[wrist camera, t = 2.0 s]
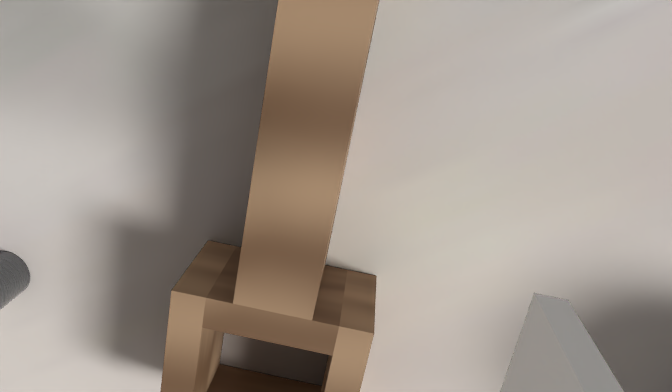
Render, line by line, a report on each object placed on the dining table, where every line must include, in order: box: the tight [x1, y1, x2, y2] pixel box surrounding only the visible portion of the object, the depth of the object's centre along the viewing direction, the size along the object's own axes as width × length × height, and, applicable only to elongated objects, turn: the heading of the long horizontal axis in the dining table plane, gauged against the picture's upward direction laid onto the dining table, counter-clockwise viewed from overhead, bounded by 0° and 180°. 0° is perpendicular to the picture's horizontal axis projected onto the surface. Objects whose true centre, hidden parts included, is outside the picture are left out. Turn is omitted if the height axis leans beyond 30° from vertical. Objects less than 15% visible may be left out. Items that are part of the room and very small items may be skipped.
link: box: [161, 0, 379, 392], centre depth 24 cm, size 25×8×5 cm, turn 169°
